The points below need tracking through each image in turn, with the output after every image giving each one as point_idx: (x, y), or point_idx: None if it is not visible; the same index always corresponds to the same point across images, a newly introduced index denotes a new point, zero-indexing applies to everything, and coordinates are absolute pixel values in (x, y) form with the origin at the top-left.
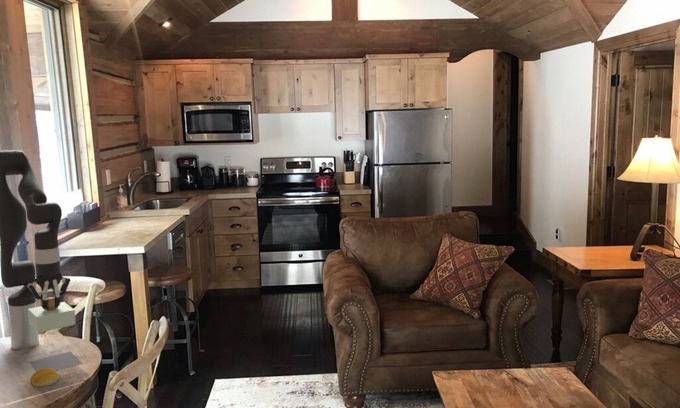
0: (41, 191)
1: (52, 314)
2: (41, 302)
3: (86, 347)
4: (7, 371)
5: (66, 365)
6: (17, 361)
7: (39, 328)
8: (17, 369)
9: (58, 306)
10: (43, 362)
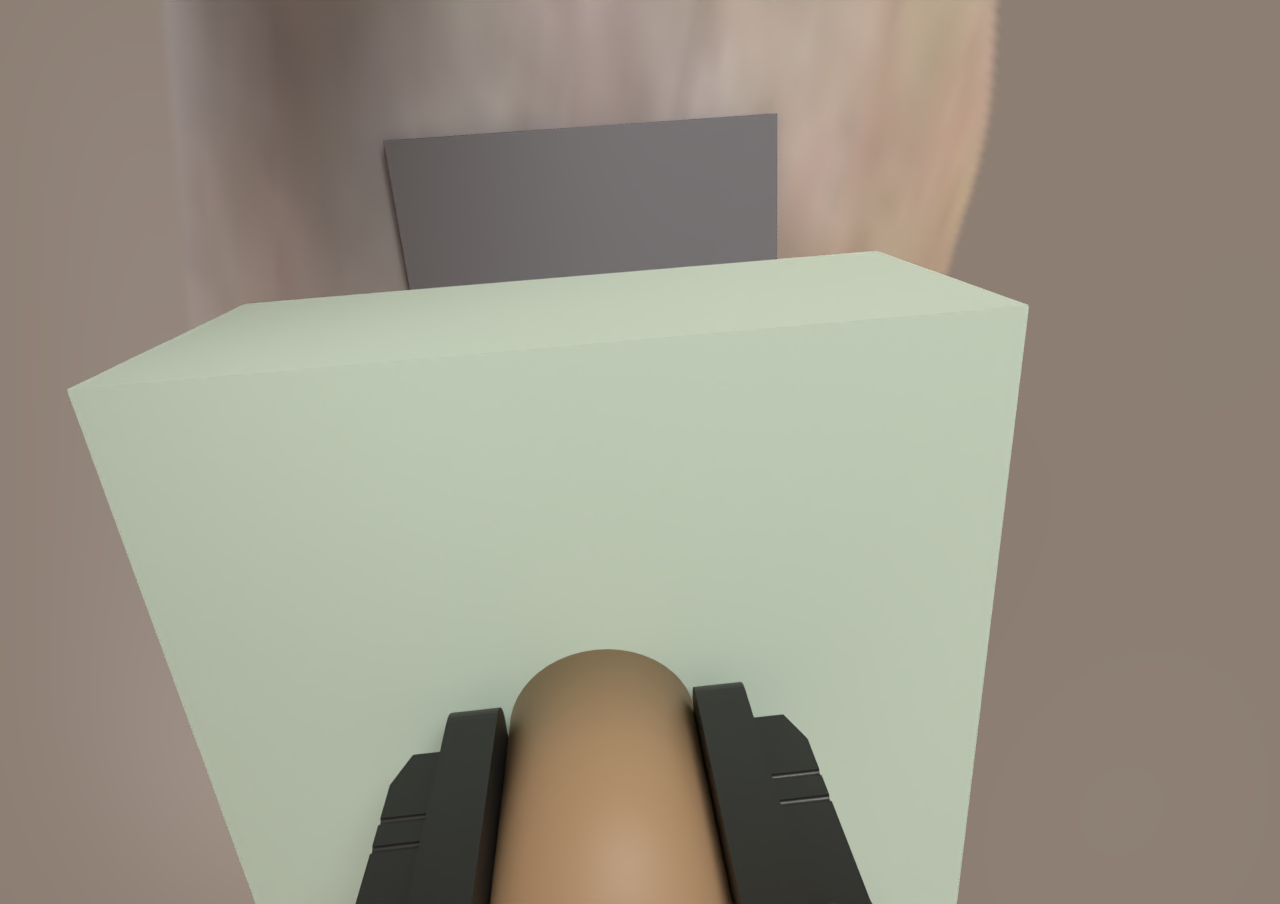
0: None
1: None
2: (359, 899)
3: (938, 74)
4: (198, 232)
5: None
6: (280, 14)
7: None
8: (284, 240)
9: (788, 610)
10: (506, 248)
